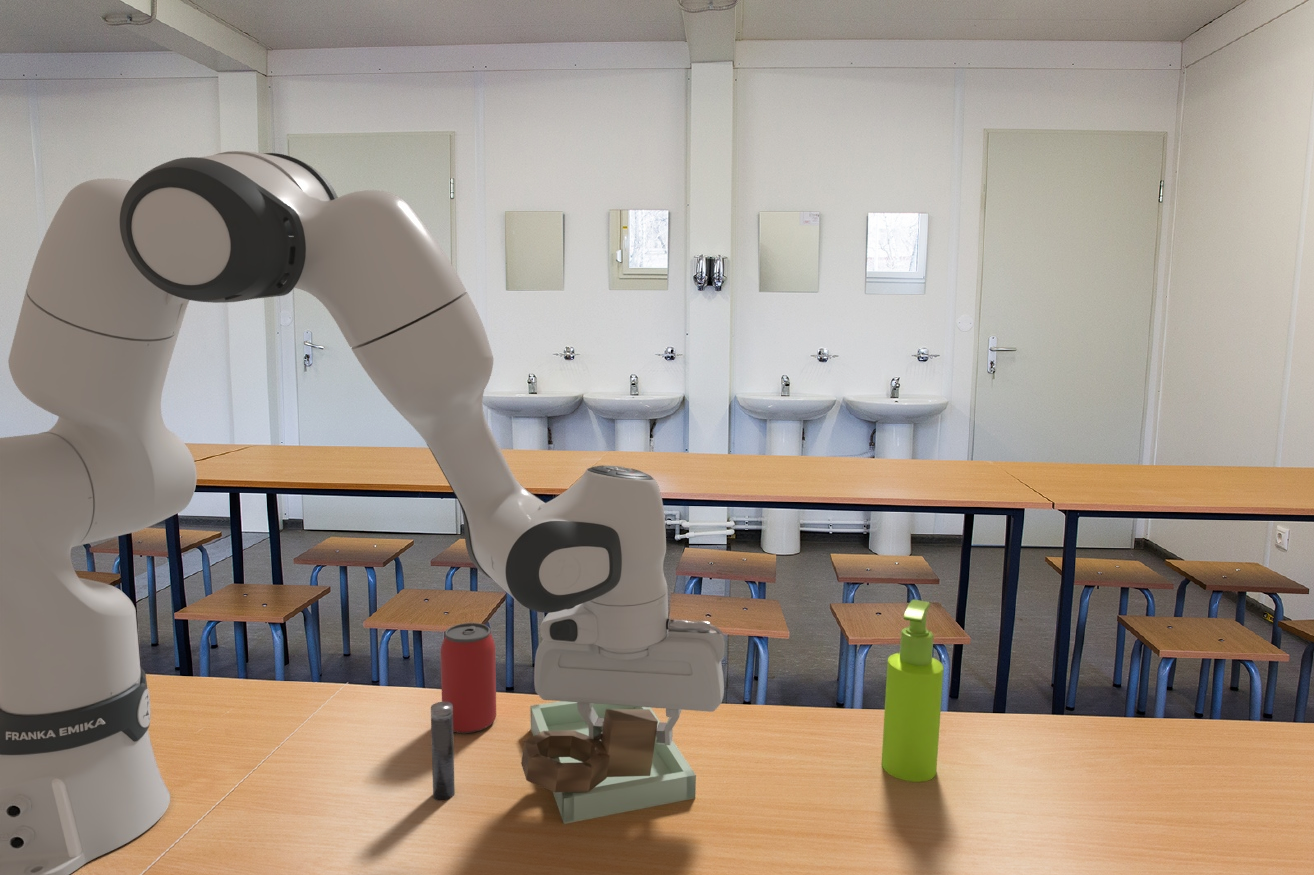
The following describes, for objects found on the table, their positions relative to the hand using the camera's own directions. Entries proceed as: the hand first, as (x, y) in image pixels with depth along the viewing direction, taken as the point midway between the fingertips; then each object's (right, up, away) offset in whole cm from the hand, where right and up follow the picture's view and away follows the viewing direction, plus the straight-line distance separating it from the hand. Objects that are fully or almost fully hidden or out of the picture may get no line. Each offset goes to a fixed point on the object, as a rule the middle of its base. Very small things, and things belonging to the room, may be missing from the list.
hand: (630, 739), depth 84 cm
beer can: (-21, -3, +14) cm, 25 cm away
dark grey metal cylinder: (-20, -5, -2) cm, 20 cm away
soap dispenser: (+31, -6, +3) cm, 32 cm away
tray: (-3, -5, +5) cm, 7 cm away
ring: (-5, -2, -2) cm, 6 cm away
